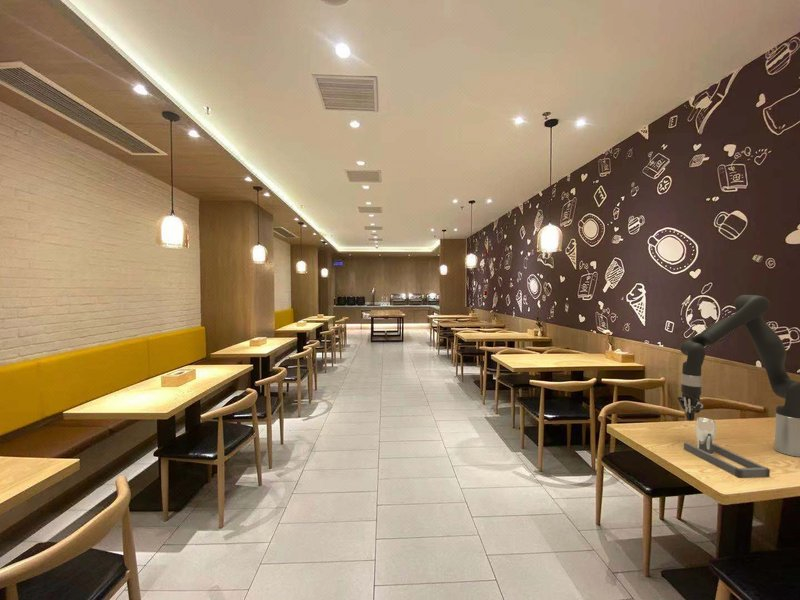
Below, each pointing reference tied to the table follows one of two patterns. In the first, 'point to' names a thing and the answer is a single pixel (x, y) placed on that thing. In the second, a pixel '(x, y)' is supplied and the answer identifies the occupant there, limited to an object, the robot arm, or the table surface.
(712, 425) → the beer glass
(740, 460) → the u rest
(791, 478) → the table surface
